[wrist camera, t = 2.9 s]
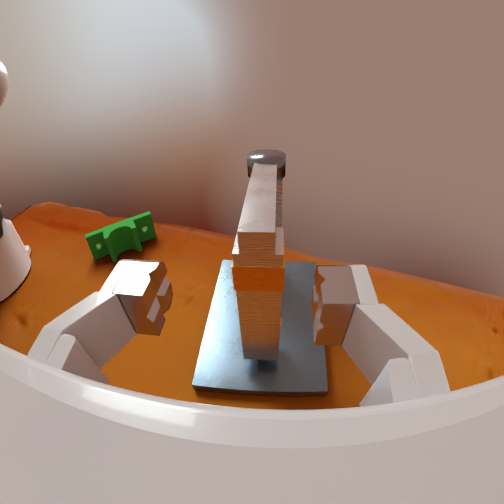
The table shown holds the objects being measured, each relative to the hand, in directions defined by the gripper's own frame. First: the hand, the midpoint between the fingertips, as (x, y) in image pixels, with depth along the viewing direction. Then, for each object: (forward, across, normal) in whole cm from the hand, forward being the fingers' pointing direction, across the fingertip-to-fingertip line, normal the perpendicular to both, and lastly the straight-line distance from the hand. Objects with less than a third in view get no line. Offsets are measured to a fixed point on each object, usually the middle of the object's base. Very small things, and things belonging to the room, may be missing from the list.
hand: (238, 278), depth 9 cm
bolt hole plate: (+13, 0, +18) cm, 22 cm away
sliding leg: (+8, 0, +17) cm, 19 cm away
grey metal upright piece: (+14, 0, +17) cm, 22 cm away
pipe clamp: (+25, +23, +18) cm, 38 cm away
